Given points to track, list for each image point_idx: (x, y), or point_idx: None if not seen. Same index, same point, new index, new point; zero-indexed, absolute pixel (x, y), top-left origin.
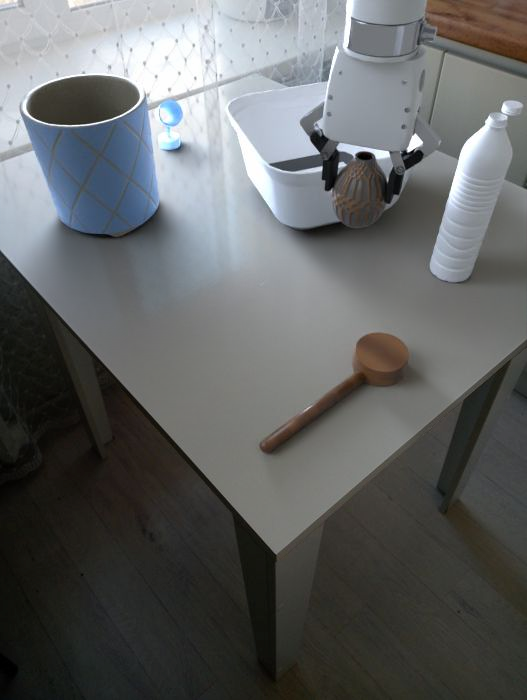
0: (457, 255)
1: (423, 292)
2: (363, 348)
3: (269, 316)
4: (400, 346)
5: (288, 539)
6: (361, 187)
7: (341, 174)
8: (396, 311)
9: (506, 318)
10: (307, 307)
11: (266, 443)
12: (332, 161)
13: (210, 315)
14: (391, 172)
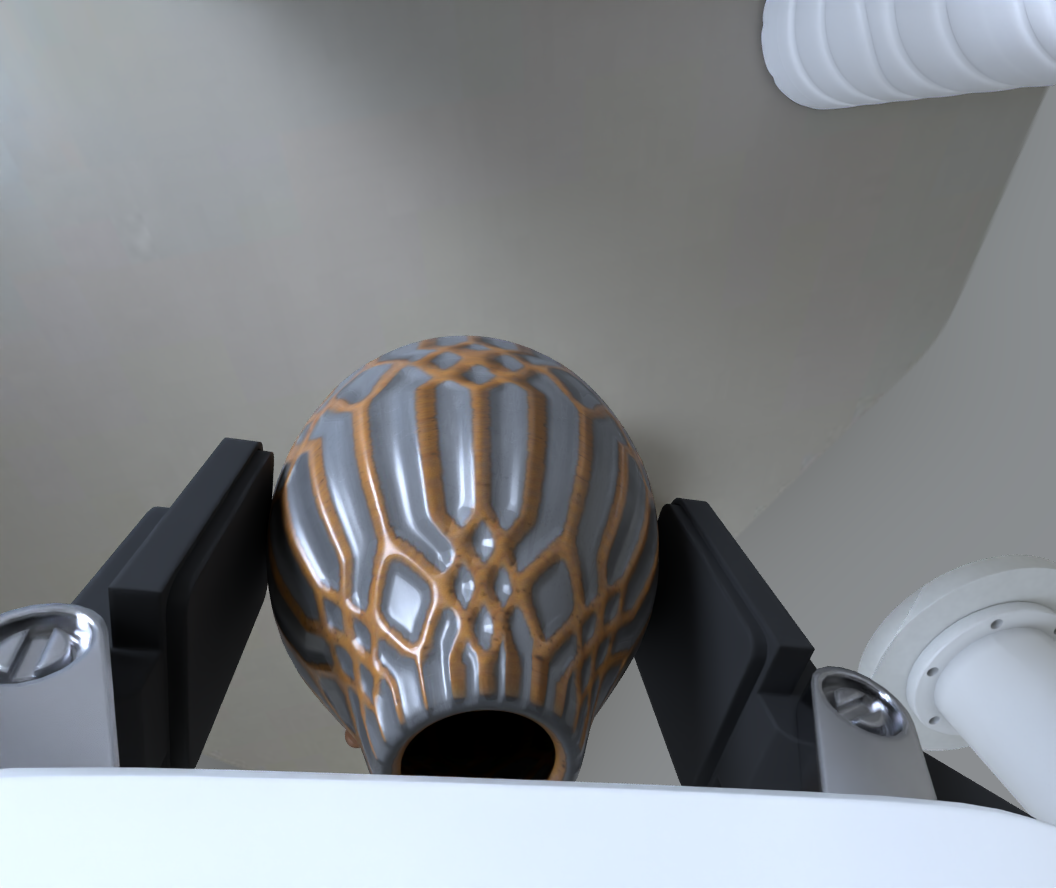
0: (889, 100)
1: (715, 180)
2: None
3: (234, 390)
4: None
5: None
6: (480, 747)
7: (304, 679)
8: (620, 293)
9: (935, 262)
10: (341, 328)
11: (357, 745)
12: (173, 758)
13: (46, 422)
14: (705, 773)
